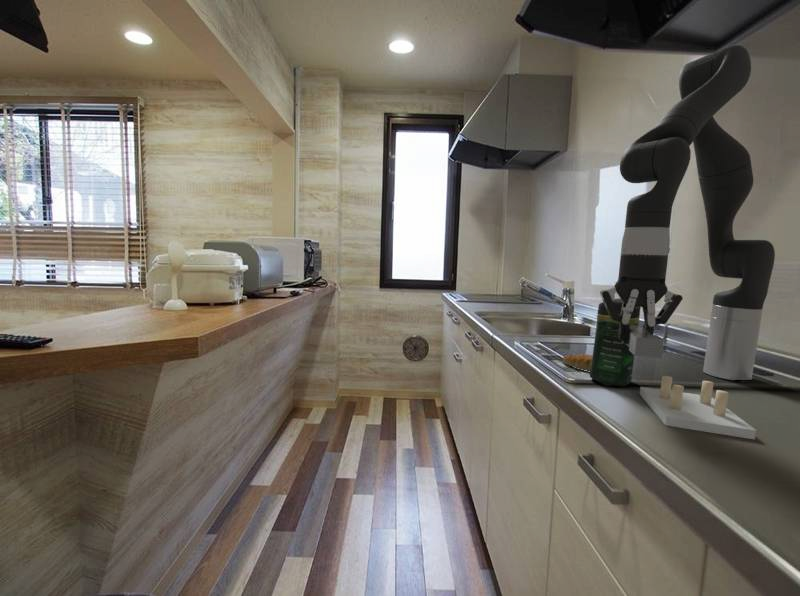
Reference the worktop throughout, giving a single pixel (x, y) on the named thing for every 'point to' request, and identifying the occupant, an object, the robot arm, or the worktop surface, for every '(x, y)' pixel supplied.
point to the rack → (695, 409)
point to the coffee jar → (612, 348)
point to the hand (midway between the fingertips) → (634, 343)
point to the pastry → (579, 361)
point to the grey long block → (644, 342)
